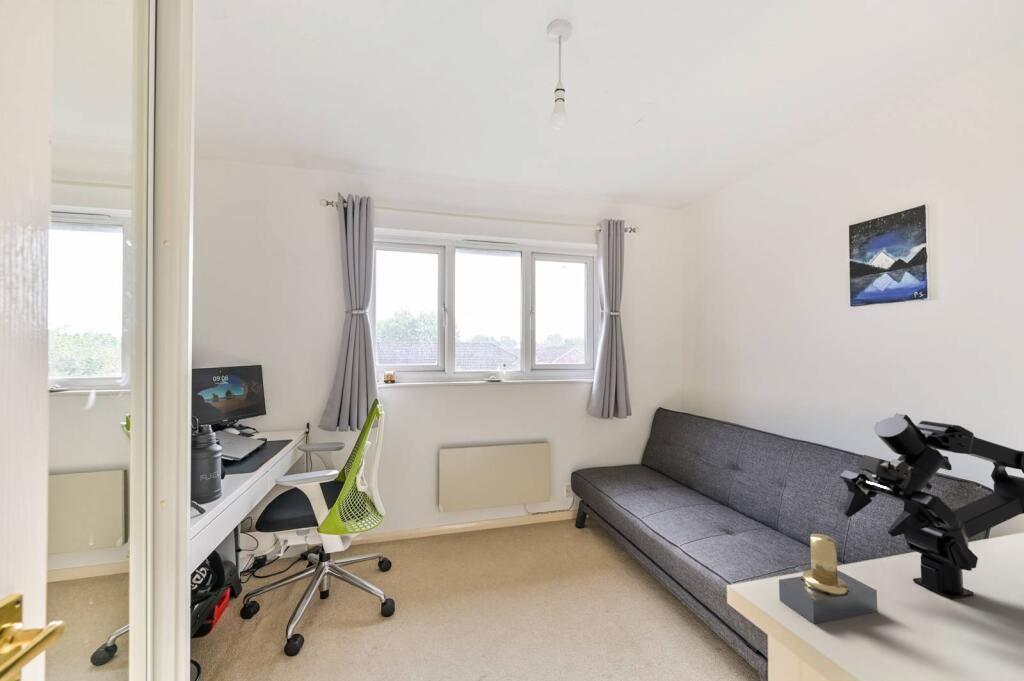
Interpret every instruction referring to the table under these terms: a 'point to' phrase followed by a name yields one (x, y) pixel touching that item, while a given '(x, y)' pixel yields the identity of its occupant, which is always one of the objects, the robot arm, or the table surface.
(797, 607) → the steel hitch block
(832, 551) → the brass pin
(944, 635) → the table surface
